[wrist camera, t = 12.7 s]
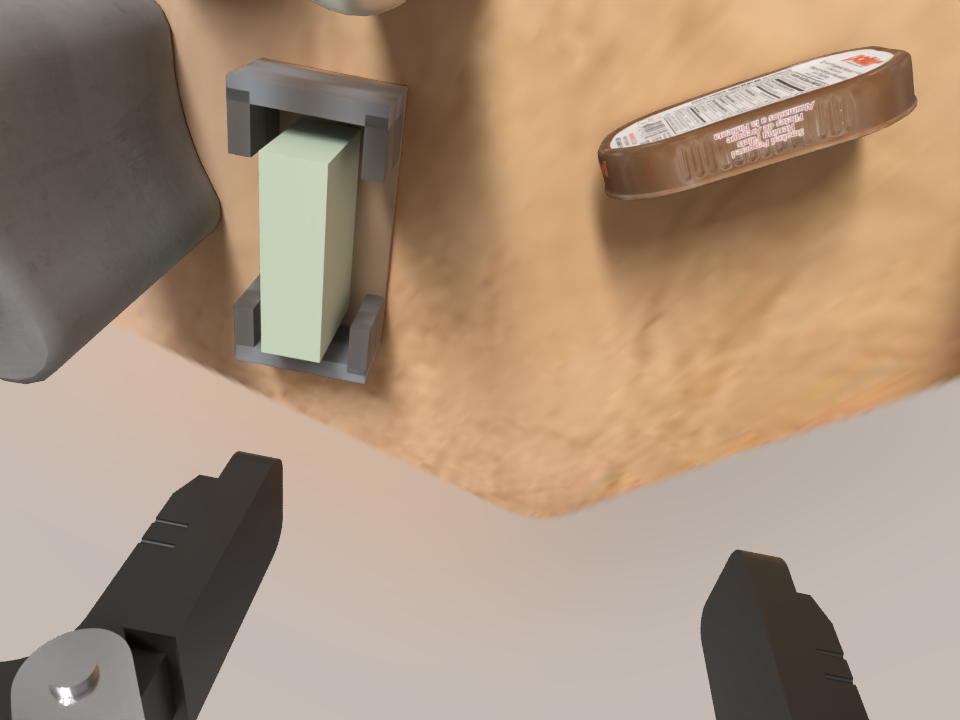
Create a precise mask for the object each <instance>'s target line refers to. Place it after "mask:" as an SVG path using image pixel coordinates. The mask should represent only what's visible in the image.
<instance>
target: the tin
mask: <svg viewBox="0 0 960 720" xmlns="http://www.w3.org/2000/svg"><path fill="white" fill-rule="evenodd" d="M916 106H917V98H916V96H915V95H914V85H913V71H912V61H911V56H910V54H909V53H908V52H905V51H902V50H897V49H888V48H883V47H877V46H870V47H863V48H856V49H851V50H846V51H841V52H836V53H832V54H828V55H824V56H820V57H817V58H813V59H810V60H806V61H803V62H800V63H797V64H794V65H791V66H788V67H785V68H782V69H779V70H776V71H773V72H770V73H766V74H763V75H760V76H757V77H754V78H751V79H748V80H745V81H742V82H739V83H736V84H733V85H730V86H727V87H724V88H721V89H718V90H715V91H712V92H709V93H706V94H703V95H700V96H698V97H695V98H692V99H689V100H686V101H683V102H681V103H678V104H675V105H672V106H669V107H666V108H663V109H661V110H658V111H655V112H653V113H650V114H648V115H645V116H643V117H641V118H638V119H636V120H634V121H632V122H629V123H627V124H625V125H624V126H622V127H620V128H618V129H617V130H615V131H613V132H612V133H611V134H609V135H608V136H607V137H606V138H605V139H604V140H603V141H602V143H601V145H600V147H599V150H598V159H599V163H600V167H601V170H602V173H603V177H604V181H605V192H606V194H607V195H608V196H610V197H612V198H615V199H620V200H639V199H647V198H655V197H660V196H666V195H670V194H675V193H679V192H682V191H686V190H690V189H693V188H697V187H700V186H703V185H706V184H710V183H713V182H716V181H720V180H723V179H726V178H729V177H733V176H736V175H739V174H743V173H746V172H749V171H752V170H756V169H759V168H762V167H765V166H768V165H772V164H775V163H778V162H782V161H785V160H788V159H791V158H794V157H798V156H801V155H805V154H808V153H812V152H815V151H818V150H821V149H824V148H828V147H831V146H834V145H838V144H842V143H845V142H848V141H851V140H854V139H857V138H860V137H863V136H866V135H869V134H871V133H874V132H876V131H879V130H881V129H883V128H886V127H888V126H890V125H892V124H894V123H895V122H897V121H899V120H901V119H902V118H904V117H905V116H907V115H908V114H910V113H911V112H912V111H913V110H914V108H915V107H916Z"/></svg>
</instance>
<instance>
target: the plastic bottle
mask: <svg viewBox="0 0 960 720" xmlns="http://www.w3.org/2000/svg"><path fill="white" fill-rule="evenodd" d="M311 1H312V2H314V3H316V4H318V5H320V6H322V7H324V8H326V9H328V10H331V11H335V12H338V13H342V14H345V15H356V16H368V15H375V14H381V13H384V12H387V11H389V10H391V9H394V8H396V7H399V6H400V5H401V4H403V3H404V2H406V1H407V0H311Z"/></svg>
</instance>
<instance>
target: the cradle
mask: <svg viewBox="0 0 960 720" xmlns="http://www.w3.org/2000/svg"><path fill="white" fill-rule="evenodd" d="M407 91H408V86H403V85H397V84H392V83H387V82H382V81H377V80H372V79H367V78H362V77H357V76H352V75H347V74H341V73H336V72H331V71H326V70H321V69H316V68H311V67H306V66H301V65H296V64H290V63H285V62H280V61H275V60H270V59H265V58H261V59H259V60H257V61H255V62H253V63H250V64H248V65H246V66H244V67H242V68H239V69H237V70H235V71H233V72H231V73H228V74H226V97H227V126H228V153H230V154H235V155H240V156H246V157H252V156H253V155H254V154H256V153H257V152H258V151H259V150H260V149H262V148H263V147H264V146H266V145H267V144H268V143H270V142H271V141H272V140H274V139H275V138H276V137H277V136H279V135H280V134H281V133H283V132H284V131H285V130H287V129H288V128H289V127H291V126H292V125H293V124H294V123H296V122H297V121H298V120H300V119H301V118H305V119H311V120H316V121H321V122H326V123H332V124H337V125H342V126H347V127H353V128H358V129H361V137H360V152H359V167H358V182H357V197H356V212H355V227H354V242H353V257H352V272H351V287H350V302H349V309H348V310H347V312H346V314H345V316H344V318H343V320H342V322H341V324H340V326H339V327H338V329H337V331H336V333H335V335H334V337H333V339H332V341H331V342H330V344H329V346H328V348H327V350H326V352H325V354H324V356H323V358H322V359H321V361H320V363H318V362H312V361H307V360H302V359H296V358H291V357H285V356H280V355H275V354H269V353H264V352H261V293H260V275H259V276H258V277H257V278H256V279H255V281H254V282H253V283H252V284H251V285H250V287H249V288H248V289H247V290H246V291H245V293H244V294H243V295H242V296H241V297H240V299H239V300H238V301H237V302H236V303H235V305H234V329H235V358H236V360H240V361H246V362H251V363H256V364H262V365H267V366H272V367H278V368H283V369H288V370H293V371H299V372H304V373H309V374H315V375H320V376H325V377H330V378H336V379H341V380H346V381H352V382H357V383H362V384H365V381H366V379H367V376H368V374H369V372H370V369H371V367H372V364H373V362H374V359H375V357H376V354H377V352H378V350H379V347H380V345H381V341H382V332H383V322H384V312H385V303H386V293H387V284H388V274H389V264H390V255H391V245H392V236H393V226H394V216H395V207H396V197H397V187H398V178H399V168H400V159H401V149H402V139H403V130H404V120H405V110H406V101H407Z"/></svg>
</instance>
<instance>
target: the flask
mask: <svg viewBox="0 0 960 720" xmlns="http://www.w3.org/2000/svg"><path fill="white" fill-rule="evenodd" d="M220 217H221V214H220V206H219V200H218V198H217V196H216V193H215V191H214V189H213V187H212V185H211V183H210V181H209V179H208V177H207V175H206V173H205V171H204V169H203V167H202V165H201V163H200V161H199V158H198V156H197V153H196V151H195V148H194V146H193V143H192V140H191V137H190V134H189V131H188V128H187V125H186V122H185V119H184V115H183V111H182V107H181V103H180V99H179V95H178V90H177V84H176V79H175V73H174V63H173V53H172V43H171V34H170V27H169V24H168V22H167V20H166V18H165V15H164V13H163V11H162V8H161V7H160V5H159V4H158V3H157V2H156V1H155V0H0V379H2V380H4V381H10V382H16V383H23V384H29V383H34V382H39V381H44V380H45V379H47V378H48V377H49V376H50V375H52V374H53V373H54V372H55V371H57V370H58V369H59V368H60V367H61V366H62V365H63V364H64V363H66V361H68V360H69V359H70V358H71V357H72V356H73V355H74V354H75V353H76V352H78V351H79V350H80V349H81V348H82V347H83V346H85V345H86V344H87V343H88V342H89V341H90V340H91V339H92V338H93V337H95V336H96V335H97V334H98V333H99V332H100V331H101V330H102V329H103V328H104V327H105V326H107V325H108V324H109V323H110V322H111V321H112V320H114V319H115V318H116V317H117V316H118V315H119V314H120V313H121V312H122V311H124V310H125V309H126V308H127V307H128V306H129V305H130V304H131V303H133V302H134V301H135V300H136V299H137V298H138V297H139V296H140V295H141V294H143V293H144V292H145V291H146V290H147V289H148V288H149V287H150V286H151V285H153V284H154V283H155V282H156V281H157V280H158V279H159V278H160V277H162V276H163V275H164V274H165V273H166V272H167V271H168V270H169V269H170V268H172V267H173V266H174V265H175V264H176V263H177V262H178V261H179V260H180V259H182V258H183V257H184V256H185V255H186V254H187V253H188V252H189V251H191V250H192V249H193V248H194V247H195V246H196V245H197V244H198V243H199V242H201V241H202V240H203V239H204V238H205V237H206V236H207V235H208V234H209V233H211V232H212V231H213V230H214V229H215V228H216V226H217V224H218V221H219V219H220Z"/></svg>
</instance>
